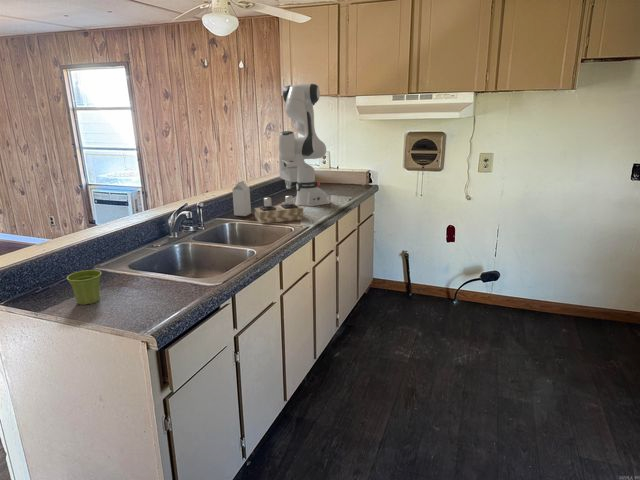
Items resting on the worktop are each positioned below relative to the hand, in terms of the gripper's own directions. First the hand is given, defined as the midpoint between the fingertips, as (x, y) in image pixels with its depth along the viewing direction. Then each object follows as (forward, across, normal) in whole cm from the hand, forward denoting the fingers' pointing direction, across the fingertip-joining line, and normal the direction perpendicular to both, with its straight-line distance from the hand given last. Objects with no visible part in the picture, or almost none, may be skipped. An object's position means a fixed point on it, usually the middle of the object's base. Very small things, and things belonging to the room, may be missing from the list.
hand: (288, 188), depth 236 cm
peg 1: (+11, 0, -12) cm, 16 cm away
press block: (+16, -1, -6) cm, 17 cm away
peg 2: (+11, 0, 0) cm, 11 cm away
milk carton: (+16, -20, -22) cm, 33 cm away
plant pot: (+19, +80, -92) cm, 123 cm away
